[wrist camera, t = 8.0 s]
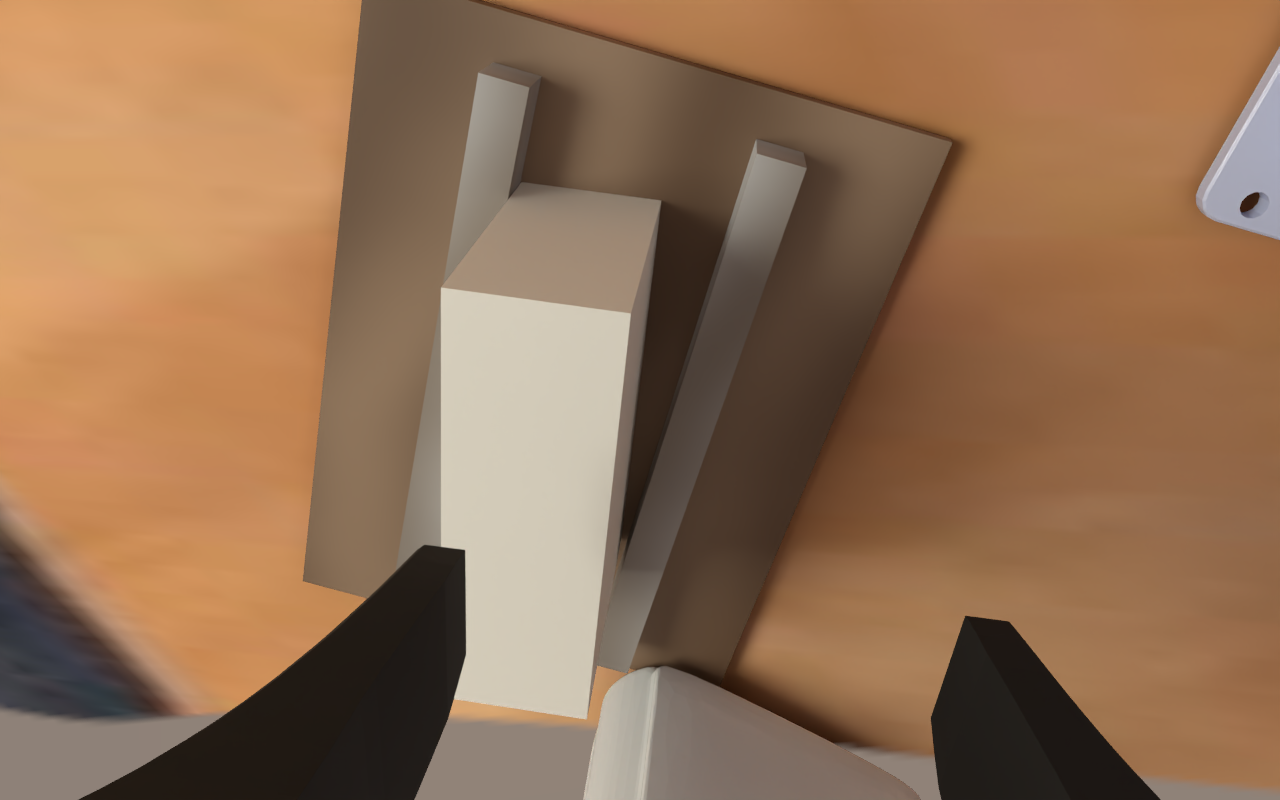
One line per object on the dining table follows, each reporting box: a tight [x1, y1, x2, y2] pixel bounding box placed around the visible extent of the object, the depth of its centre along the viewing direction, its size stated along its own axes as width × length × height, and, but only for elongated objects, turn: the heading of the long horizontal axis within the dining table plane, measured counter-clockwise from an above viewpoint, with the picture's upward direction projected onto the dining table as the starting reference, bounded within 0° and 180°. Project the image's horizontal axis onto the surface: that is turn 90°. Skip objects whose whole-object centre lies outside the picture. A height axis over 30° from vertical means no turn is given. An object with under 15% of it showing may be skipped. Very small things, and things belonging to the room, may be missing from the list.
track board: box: [303, 0, 952, 687], centre depth 22 cm, size 12×16×2 cm
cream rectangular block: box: [441, 182, 661, 719], centre depth 19 cm, size 3×9×6 cm, turn 174°
